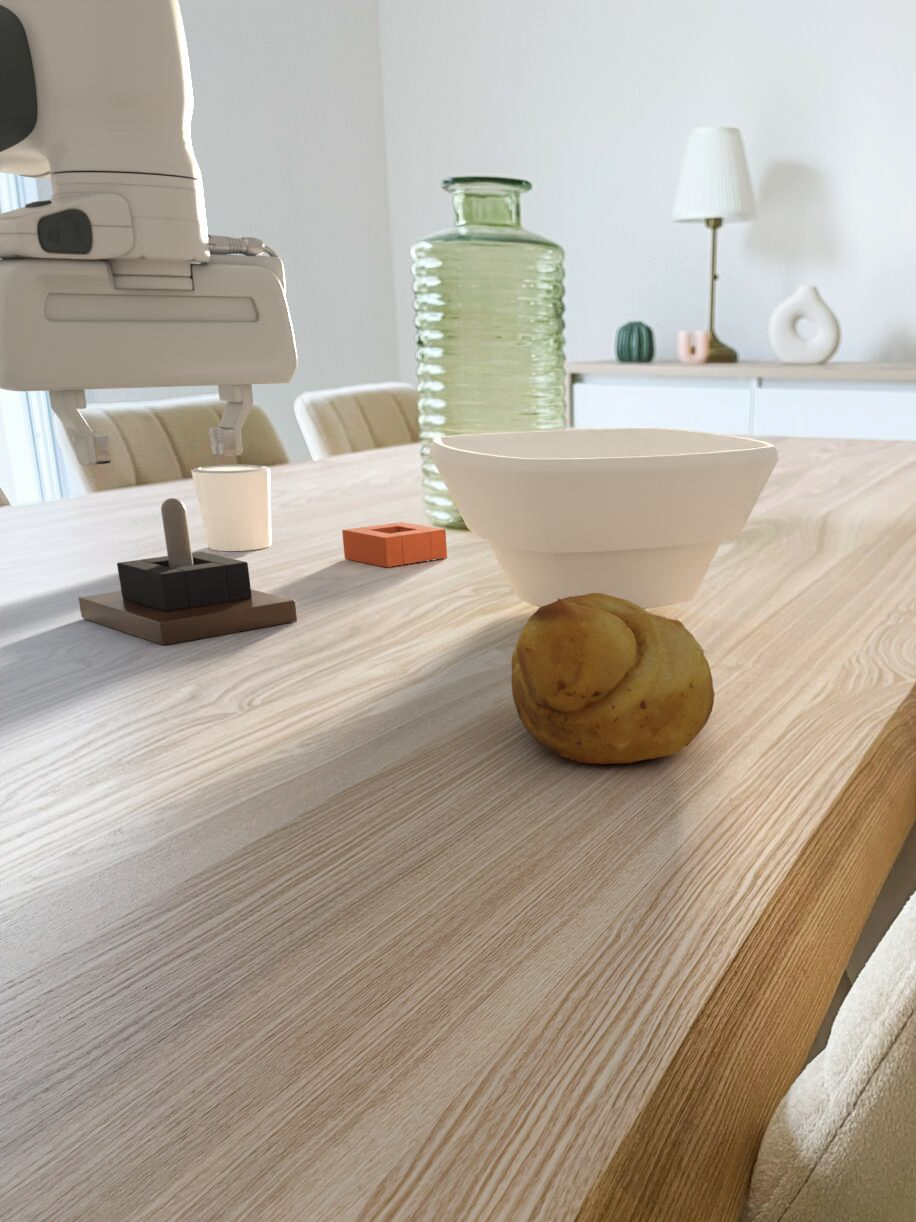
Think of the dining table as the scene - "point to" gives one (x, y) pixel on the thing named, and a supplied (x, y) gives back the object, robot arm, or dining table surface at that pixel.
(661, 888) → the dining table surface
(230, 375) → the robot arm
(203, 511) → the cream cup
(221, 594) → the charcoal square ring
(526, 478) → the bowl
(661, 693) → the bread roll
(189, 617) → the peg stand
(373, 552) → the terracotta pad
